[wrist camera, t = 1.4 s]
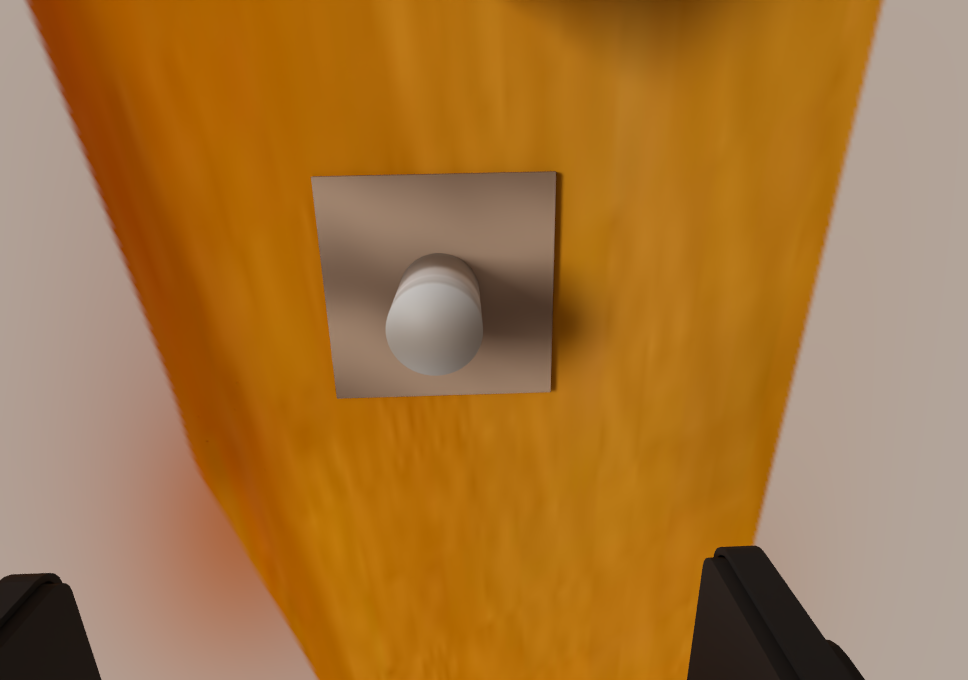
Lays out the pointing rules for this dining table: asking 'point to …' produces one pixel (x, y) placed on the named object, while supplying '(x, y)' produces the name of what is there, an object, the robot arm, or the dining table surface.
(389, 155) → the dining table surface
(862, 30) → the dining table surface
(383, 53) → the dining table surface
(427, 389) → the lid
